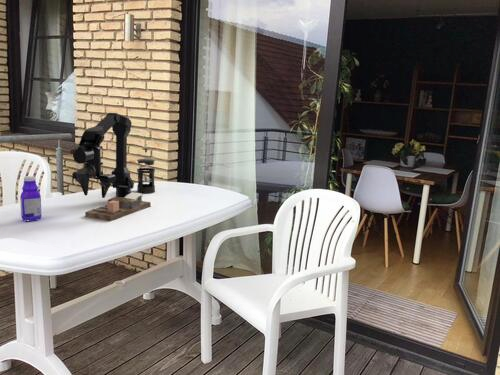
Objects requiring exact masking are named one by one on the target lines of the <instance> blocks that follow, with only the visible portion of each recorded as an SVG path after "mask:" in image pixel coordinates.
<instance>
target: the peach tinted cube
mask: <svg viewBox="0 0 500 375" xmlns="http://www.w3.org/2000/svg"><path fill="white" fill-rule="evenodd" d="M106 205H108V211H109V212H116V211H119V201H114V200H113V201H110V202H108V201H107V204H106Z"/></svg>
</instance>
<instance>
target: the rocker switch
mask: <svg viewBox="0 0 500 375" xmlns="http://www.w3.org/2000/svg"><path fill="white" fill-rule="evenodd" d="M139 196H142V197H144V194H142V193H138V192H133V191H131V193H130V194H128V195H127V196H126V197H124V198H129V199H136V200H138V197H139Z"/></svg>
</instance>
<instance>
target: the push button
mask: <svg viewBox="0 0 500 375" xmlns="http://www.w3.org/2000/svg"><path fill="white" fill-rule="evenodd" d="M110 199H111V200H117V201H124V202H130V203H132V202H135V201H137V200H136V199H129V198H123V197H116V196H114V197H111V198H110Z"/></svg>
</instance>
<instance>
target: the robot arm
mask: <svg viewBox="0 0 500 375" xmlns="http://www.w3.org/2000/svg"><path fill="white" fill-rule="evenodd" d="M132 124H133V123H132V120H131V119H130V118H129V117H126V116H124V115H121V114H119V113H117V112H108V113H106V114H105V116H104V117H103V118H102V119H101V120H100V121H98V123H97V124H95V126H93V127H88V128H87V129H85V130H84V131H83V133H82V136H81V138H80V141H79V143H78V146H77V149H76V150H74V152H73V155H72V158H73V160H74V162H75V163H77V164H80V165H81V164H83V167H81V168H79V169H78V170H77V171H73V172H72V176H71V177H72V179H74V181H75V182H77V183H79V185H80V187H81V189H82V192H83V194H84V196H88V192H89V187H90V179H93V180H99V183H98V185H100V187H101V188H100V189H101V190H100V191H101V199H105V197H106V195H107V193H108V191H109V189H110V187H111V186H112V188H113V189H115V197H123V198H124V197H125V195H127V194H130V193H131V192H132V189H134V187H135V182H134V181H133V179H132V178H131V173H130V170H129V168H128V167H127V162H128V161H127V160H128V159H127V157H128V155H127V154H128V153H127V152H128V151H127V149H128V148H127V147H128V143H127V142H128V139H127V138H128V135H129V134H130V132H131V131H132V129H131V128H132ZM111 128H112V129H111ZM110 129H111V130H112V132H113V133H114V135H115V168H114V169H113V170H112V171H111V173H106V174H105V173H104V172H103V171H102V166H103V164H104V162H103V161H102V159H101V158H102V156H101V151H102V150H101V149H103V146H102V145H101V144H102V143H103V141H104V140H105V134H107V132H108V131H109V130H110Z"/></svg>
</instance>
